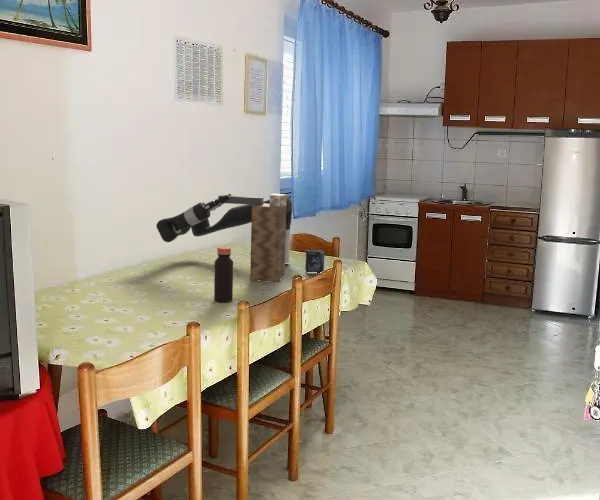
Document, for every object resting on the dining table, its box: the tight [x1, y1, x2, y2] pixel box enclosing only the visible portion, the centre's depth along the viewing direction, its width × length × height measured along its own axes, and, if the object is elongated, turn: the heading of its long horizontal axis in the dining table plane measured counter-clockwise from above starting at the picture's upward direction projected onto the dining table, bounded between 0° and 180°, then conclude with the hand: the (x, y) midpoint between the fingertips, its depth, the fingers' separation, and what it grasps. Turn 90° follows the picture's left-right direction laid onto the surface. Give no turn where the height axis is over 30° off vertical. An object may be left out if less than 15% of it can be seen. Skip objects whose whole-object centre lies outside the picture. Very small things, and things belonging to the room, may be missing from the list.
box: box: [304, 249, 325, 273], centre depth 291 cm, size 8×6×11 cm
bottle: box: [213, 246, 234, 303], centre depth 237 cm, size 7×7×20 cm
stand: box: [249, 193, 288, 283], centre depth 274 cm, size 12×12×37 cm
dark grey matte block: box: [217, 194, 265, 205], centre depth 274 cm, size 19×4×3 cm, turn 77°
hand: (229, 196), depth 275 cm, fingers closed on dark grey matte block, 4 cm apart
